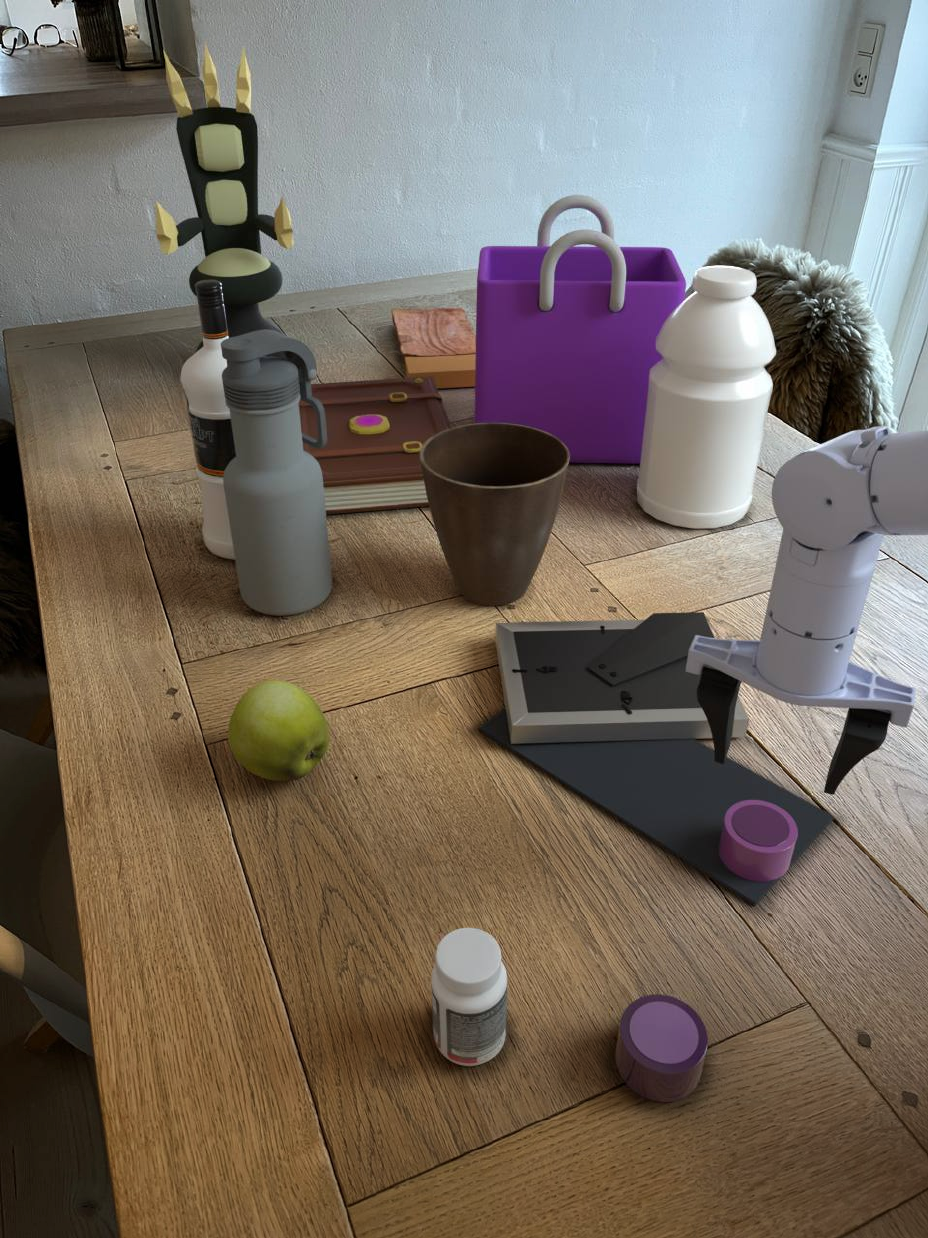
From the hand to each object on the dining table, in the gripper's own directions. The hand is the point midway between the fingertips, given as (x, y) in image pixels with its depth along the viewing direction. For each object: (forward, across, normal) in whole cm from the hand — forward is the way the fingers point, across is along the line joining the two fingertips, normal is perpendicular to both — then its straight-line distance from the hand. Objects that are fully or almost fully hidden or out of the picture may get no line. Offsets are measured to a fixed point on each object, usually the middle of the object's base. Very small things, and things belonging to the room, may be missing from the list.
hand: (775, 769), depth 72 cm
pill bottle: (+10, +14, +23) cm, 28 cm away
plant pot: (+10, +33, -27) cm, 44 cm away
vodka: (+10, +63, -24) cm, 68 cm away
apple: (+10, +39, +6) cm, 41 cm away
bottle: (+10, +18, -54) cm, 58 cm away
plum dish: (+9, 0, 0) cm, 9 cm away
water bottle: (+10, +53, -17) cm, 56 cm away
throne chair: (+10, +95, -71) cm, 119 cm away
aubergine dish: (+9, +2, +19) cm, 22 cm away
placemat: (+9, +10, -6) cm, 15 cm away
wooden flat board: (+10, +69, -88) cm, 112 cm away
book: (+10, +61, -50) cm, 79 cm away
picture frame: (+9, +16, -16) cm, 24 cm away
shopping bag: (+10, +38, -66) cm, 77 cm away
